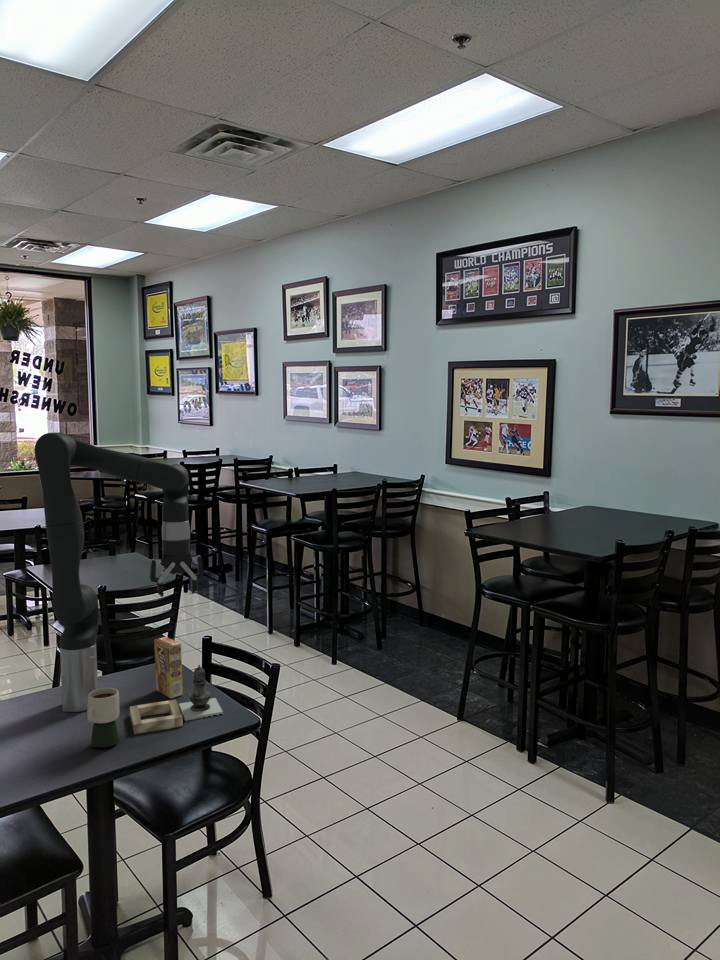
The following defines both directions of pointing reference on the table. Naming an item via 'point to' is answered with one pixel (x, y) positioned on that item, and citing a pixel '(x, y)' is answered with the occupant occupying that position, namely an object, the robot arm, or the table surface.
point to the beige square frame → (155, 723)
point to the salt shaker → (199, 692)
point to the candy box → (168, 667)
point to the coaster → (191, 715)
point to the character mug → (103, 716)
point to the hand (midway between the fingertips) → (177, 594)
